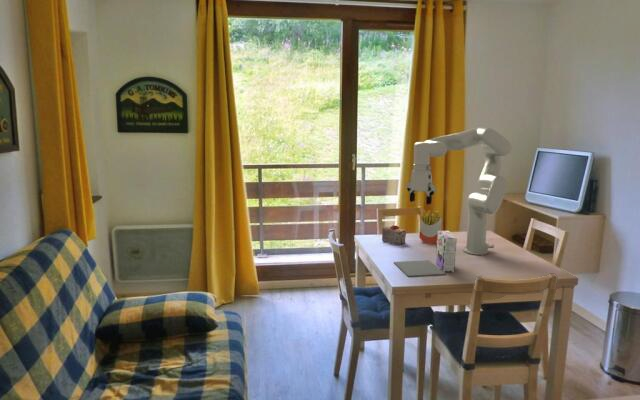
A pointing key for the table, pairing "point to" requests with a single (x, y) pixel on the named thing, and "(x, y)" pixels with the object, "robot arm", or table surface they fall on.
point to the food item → (393, 235)
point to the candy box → (446, 251)
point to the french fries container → (430, 227)
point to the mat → (419, 268)
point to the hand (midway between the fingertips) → (420, 202)
